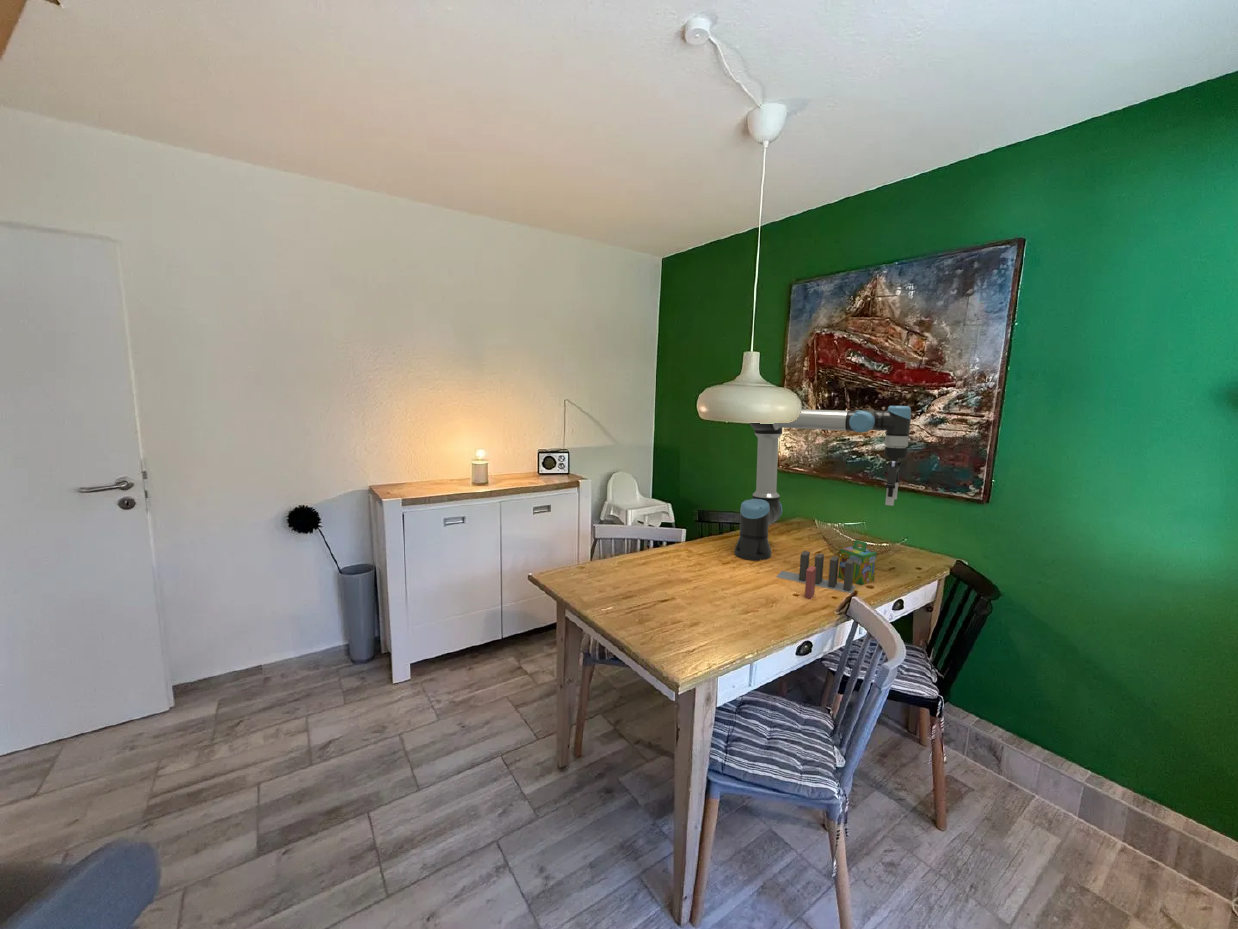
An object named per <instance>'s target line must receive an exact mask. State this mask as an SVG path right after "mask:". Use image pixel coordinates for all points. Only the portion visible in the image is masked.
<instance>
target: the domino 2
mask: <svg viewBox="0 0 1238 929" xmlns="http://www.w3.org/2000/svg"><path fill="white" fill-rule="evenodd" d="M815 577H816V567H814V566H812V565H809V568H808V569H807V570H806V583H804V584H805V586H804V599H808V600H809V599H810V600H812V598H813V597H814V596H815V592H816V591H815V590H816V589H815V588H816V586H815Z"/></svg>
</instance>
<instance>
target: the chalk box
mask: <svg viewBox="0 0 1238 929" xmlns="http://www.w3.org/2000/svg"><path fill="white" fill-rule="evenodd" d="M858 545H861V546H858ZM867 546H868V542H866V541H861V540H857V539H855V540H854V541H853V545H852V546H848V547H843V548H841V549H840V555H839V556H840V557H839V562H838V575H837V579H840V580H843V581H844V575H845V563H846V561H847V559H853V560H854V569H853V581H852V584H856V585H858V586H863V585H866V584H868V583H871V582H874V581H875V577H876V576H875V574H876V566H877V557H878V552H877V551H875V550H872V549H868V548H867Z"/></svg>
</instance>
